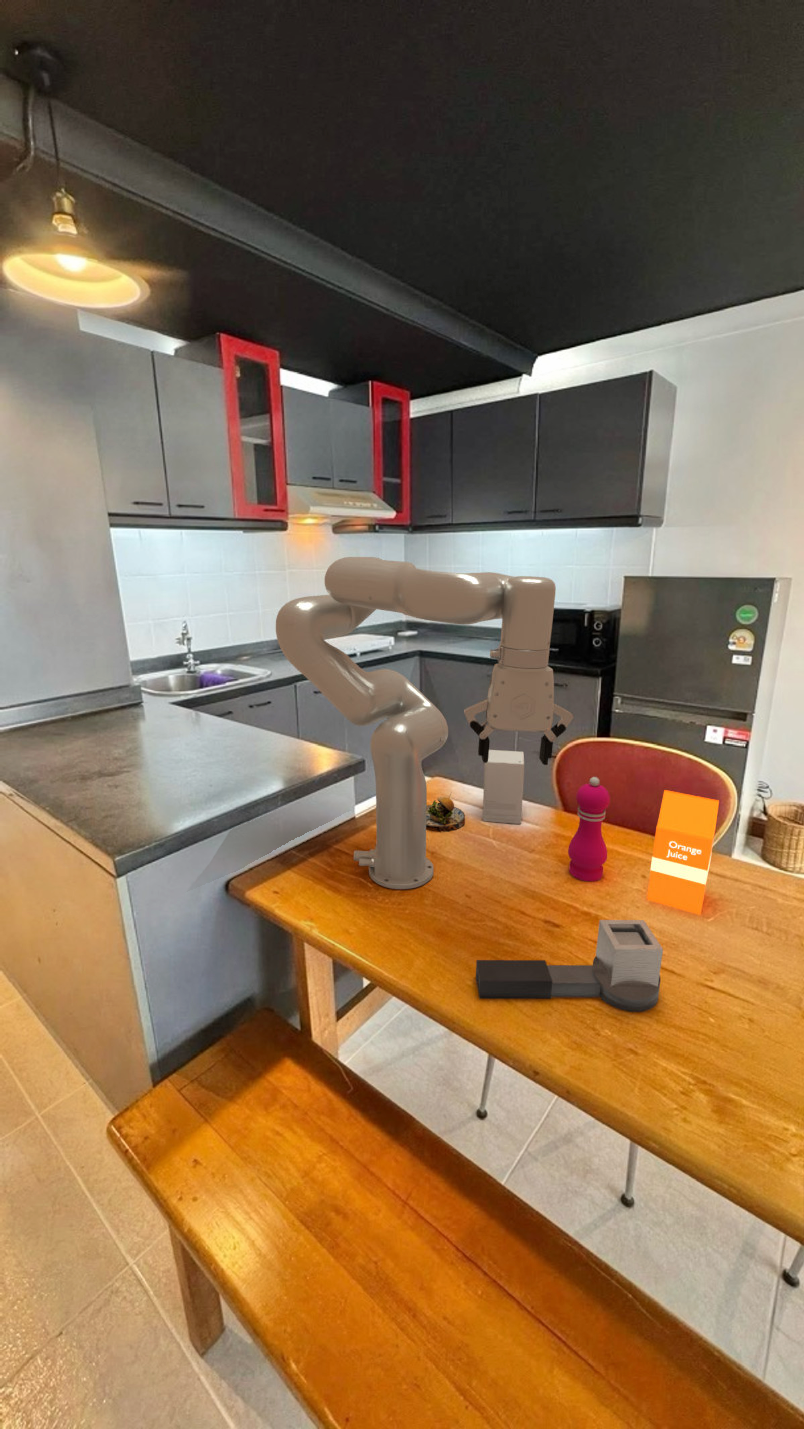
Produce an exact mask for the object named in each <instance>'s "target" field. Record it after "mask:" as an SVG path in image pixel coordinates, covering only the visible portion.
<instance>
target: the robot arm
mask: <svg viewBox="0 0 804 1429" xmlns="http://www.w3.org/2000/svg"><path fill="white" fill-rule="evenodd" d="M324 587H325V590H326V592H327V594H323V595H311V596H303V597H298V598H295V599H292V600H290V601H288V602H286V603H285V604H284V605H283V606H282V607H280V609H279V610H278V612H277V615H276V618H275V633H276V640H277V643H278V645H279V648H280V649H281V652H282V654H283V655H284V656H285V658H286V660H287V661H288V662H289V663H290V664H291V665H292V667H294V668H295V669H296V670H297V671H298V672H299V673H300V674H301V675H303V676H304V677H305V678H306V679H307V680H309V682H311V684H313V686H315V687H316V688H317V689H318V690H319V692H320V693H321V694H322V695H323V696H324V697H325V698H326V699H327V700H328V701H329V702H330V703H331V704H332V705H333V706H334V707H335V708H336V709H337V710H338V711H339V713H340V714H341V715H343V717H344V718H346V719H347V721H349V722H351V724H353V725H355V726H357V727H365V726H370V725H372V724H373V725H374V724H375V723H378V722H380V721H382V720H384V719H385V720H384V721H383V722H381V723H379V725H378V726H377V727H376V728H375V729H374V731H373V732H372V735H371V738H370V743H369V744H370V745H369V746H370V747H369V748H370V754H371V760H372V763H373V767H374V768H373V769H374V777H375V778H374V780H375V807H376V808H375V810H376V811H375V812H376V813H375V814H376V816H375V818H376V819H375V821H376V823H375V825H376V829H375V830H376V844H375V847H374V848H375V849H373V848H371V849H369V851H368V850H367V851H366V850H365V851H364V850H354V851H353V861H356V862H358V866H359V867H368V874H369V877H370V879H371V880H372V881H373V882H374V883H376V884H377V885H380V886H382V887H384V888H388V889H393V890H410V889H416V888H418V887H421V886H423V885H425V884H427V883H428V882H429V881H431V879H432V878H433V876H434V864H433V862H432V861H430V859H429V858H427V857H426V854H427V825H426V810H427V805H428V804H427V803H428V802H427V797H428V796H427V795H428V793H427V780H426V777H425V774H424V771H423V768H422V761H423V760H424V759H426V758H427V757H429V756H430V755H432V754H434V753H435V752H437V751H439V749H441V748H442V747H443V746H444V745H445V743H446V742H447V739H448V737H449V726H448V722H447V720H446V718H445V717H444V715H443V713H442V712H441V710H439V708H438V707H436V705H435V704H434V703H433V702H432V701H430V700H429V699H428V697H427V696H425V695H424V694H423V692H421V691H420V690H419V689H418V688H417V687H416V686H415V685H414V684H413V683H412V682H411V681H410V680H409V679H407V677H405V676H404V675H403V674H401V673H399V672H398V671H395V670H392V669H390V668H382V669H376V670H372V671H365V670H364V669H362V668H361V667H359V665H358V664H357V663H355V662H354V661H353V659H351V657H350V656H349V655H348V654H346V653H345V652H344V651H342V650H341V649H339V648H338V647H336V646H334V645H332V644H330V643H328V642H327V641H326V640H329V639H335V638H339V637H340V638H341V637H343V636H347V634H350V633H352V632H353V631H354V630H355V629H357V628H358V627H359V626H360V625H361V624H362V623H363V622H364V621H366V620H367V619H368V618H369V617H370V616H371V615H372V614H373V613H374V612H375V611H377V610H380V611H386V612H393V613H399V614H402V615H405V616H408V617H412V618H416V619H420V620H425V621H431V622H437V623H438V622H439V623H443V624H444V623H445V624H452V625H461V626H464V625H465V626H466V625H474V624H477V623H481V622H485V621H486V622H487V621H492V620H499V619H500V620H501V631H500V632H501V634H500V644H498V647H497V648H495V649H490V651H489V658H490V659H495V660H497V661H498V663H495V664H494V665H493V668H492V673H491V676H490V682H489V686H488V691H487V692H488V693H487V697H486V699H485V700H481V701H480V702H477V703H475V704H473V705H471V706H468V707H466V708H464V710H463V712H464V716H465V719H466V721H467V722H468V725H469V727H470V728H471V730H473V731H474V733H476V735H477V736H478V746H477V747H478V751H477V752H478V756H480V757H481V759H482V763H483V764H484V763H487V762H488V756H489V750H490V741H491V740H490V738H489V735H490V734H491V733H493V732H494V731H495V730H496V731H502V732H504V731H505V732H525V733H526V732H527V733H528V732H530V733H542V732H543V735H542V736H541V738H540V746H539V754H538V755H539V760H540V762H541V763H542V765H544V766H548V764H549V759H552V754H553V749H554V746H553V745H554V742H555V741H556V740H557V738H558V737H560V736H561V735H562V734H563V733H564V732H565V731H566V730H567V727H568V726H569V725H570V724H571V722H572V721H573V719H574V715H573V713H571V712H570V711H568V710H566V709H565V708H563V707H561V706H559V705H557V704H556V703H555V702H554V701H555V680H554V679H555V678H554V670H553V668H551V667H550V666H549V658H550V657H549V656H550V646H551V638H552V629H553V621H554V620H553V619H554V610H555V600H556V590H557V589H556V588H557V587H556V583H555V582H554V581H553V579H551V578H549V577H545V576H544V577H542V576H526V575H524V576H523V575H521V576H520V575H518V576H513V575H506V574H502V573H499V572H489V571H487V572H486V571H485V572H468V573H459V572H447V571H436V570H427V569H420V568H417V567H416V566H415V565H414V564H413V563H411V562H408V561H398V560H386V559H381V558H379V557H374V556H346V557H342V558H339V559H337V560H335V561H333V562H332V563H331V564H329V567H328V568H327V569H326V572H325V575H324ZM484 711H485V718H486V720H485V721H484V722H483V723H482V724H480V722H478V720H477V719H476V715H477V714H480V713H482V712H484ZM554 714H555V715H557V716H559V717H560V719H559V721H558V722H557V723H556V724H554V725H553V722H554Z"/></svg>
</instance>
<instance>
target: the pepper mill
mask: <svg viewBox="0 0 804 1429" xmlns="http://www.w3.org/2000/svg"><path fill="white" fill-rule="evenodd" d="M575 797H576V798H575V800H576V803H577V804H578V807H577V816H578V817H579V823H578V828H577V830H576V831H575V833H574V836H573V837H572V839H571V840H570V843H569V845H568V849H567V853H568V857H569V859H570V861H569V863H568V864H569V867H568V871H569V874H571V876H572V877H574V878H575V879H578V880H580V881H584V882H597V881H599V880H601V879H602V877H603V873H604V866H603V865H604V864H605V863H606V861H607V859H608V849H607V845H606V842H605V840H604V838H603V835H602V824H603V820H605V818H606V809H607V808H608V807H609V805H610V802H611V797H610V794H609V791H608V789H606V787H604V785H600V779H599V778H598V777H597V776H592V777H591V778H590V779H589V783H586V784H582V785H581V786H580V787H579V788H578V790H577V791H576V795H575Z"/></svg>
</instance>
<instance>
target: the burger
mask: <svg viewBox="0 0 804 1429" xmlns="http://www.w3.org/2000/svg"><path fill="white" fill-rule="evenodd" d="M451 795H452V793H450V795H449V796H447V797H446V796H440V797H438V798H437V801H438V802H437V801H436V800H435V799H434V801H432V803H431V804H427V810H426V826H428V827H433V828H438V829H439V832H440V833H441V832H442V833H445V832H446V833H447V832H450V829H451V828H453V829H454V830H455V831H457V830H459V829H461V828H462V826H464V825H465V824H466V815H465V812H464V811H463V810H462V809H460V808H459V807H455V803H454V801H453V800H452V799H451V798H450V796H451Z"/></svg>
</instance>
